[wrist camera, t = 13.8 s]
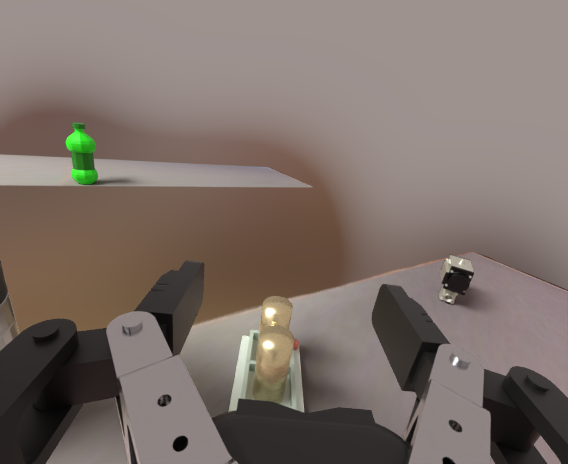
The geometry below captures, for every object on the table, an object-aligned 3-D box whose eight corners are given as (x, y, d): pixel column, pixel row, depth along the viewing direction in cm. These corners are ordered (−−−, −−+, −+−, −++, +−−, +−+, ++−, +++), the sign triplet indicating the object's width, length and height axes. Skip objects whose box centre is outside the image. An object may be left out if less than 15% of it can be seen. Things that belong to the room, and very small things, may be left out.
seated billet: (255, 365, 43) (261, 313, 39) (257, 343, 47) (263, 294, 43) (283, 367, 43) (293, 316, 39) (283, 346, 47) (292, 297, 44)
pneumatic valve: (454, 292, 76) (470, 254, 72) (457, 314, 67) (476, 271, 62) (432, 285, 79) (447, 247, 74) (432, 305, 69) (449, 263, 64)
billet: (250, 405, 37) (257, 349, 33) (254, 376, 41) (260, 323, 37) (283, 409, 37) (294, 353, 33) (284, 379, 41) (293, 327, 37)
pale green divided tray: (227, 422, 36) (228, 406, 35) (241, 342, 49) (243, 328, 48) (303, 428, 36) (306, 413, 35) (297, 347, 49) (300, 334, 48)
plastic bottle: (67, 181, 122) (58, 121, 112) (94, 179, 130) (88, 123, 120) (76, 186, 116) (67, 123, 107) (103, 184, 124) (97, 126, 115)
